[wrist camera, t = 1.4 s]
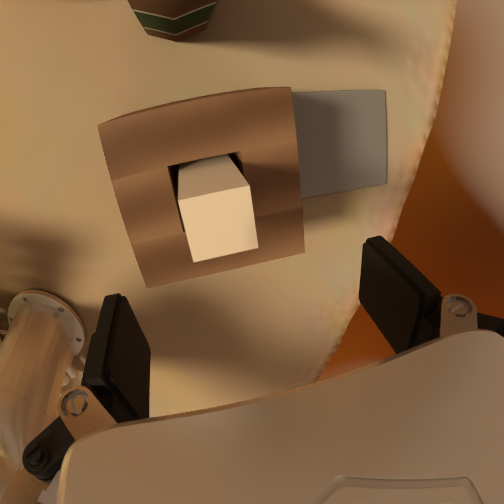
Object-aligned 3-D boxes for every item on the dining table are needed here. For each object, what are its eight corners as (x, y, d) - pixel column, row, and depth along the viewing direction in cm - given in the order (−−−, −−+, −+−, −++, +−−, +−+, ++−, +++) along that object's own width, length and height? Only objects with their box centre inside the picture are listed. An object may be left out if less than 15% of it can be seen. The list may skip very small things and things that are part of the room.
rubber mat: (383, 182, 37) (386, 184, 37) (298, 197, 36) (299, 199, 35) (382, 90, 31) (384, 90, 31) (287, 93, 30) (289, 93, 29)
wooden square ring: (274, 210, 36) (304, 252, 27) (153, 236, 34) (147, 288, 26) (258, 87, 29) (290, 86, 20) (122, 115, 27) (97, 125, 19)
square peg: (229, 188, 29) (258, 248, 19) (187, 197, 29) (193, 262, 19) (222, 147, 27) (249, 185, 17) (179, 156, 27) (177, 200, 17)
